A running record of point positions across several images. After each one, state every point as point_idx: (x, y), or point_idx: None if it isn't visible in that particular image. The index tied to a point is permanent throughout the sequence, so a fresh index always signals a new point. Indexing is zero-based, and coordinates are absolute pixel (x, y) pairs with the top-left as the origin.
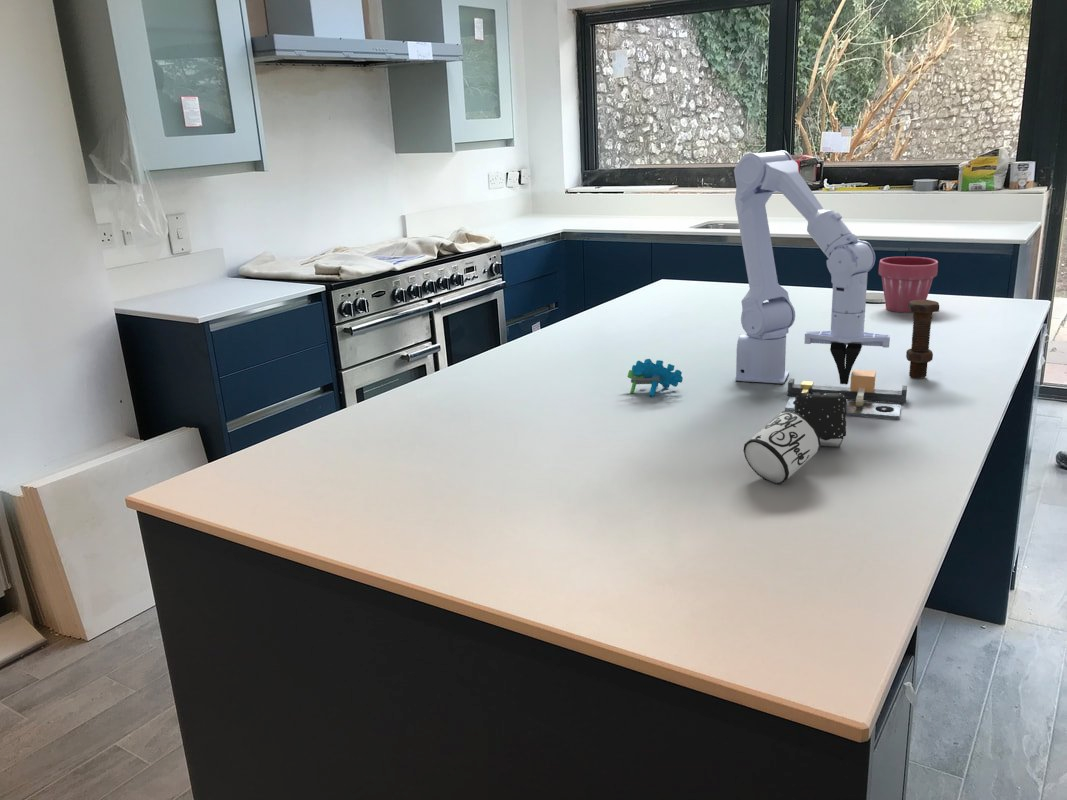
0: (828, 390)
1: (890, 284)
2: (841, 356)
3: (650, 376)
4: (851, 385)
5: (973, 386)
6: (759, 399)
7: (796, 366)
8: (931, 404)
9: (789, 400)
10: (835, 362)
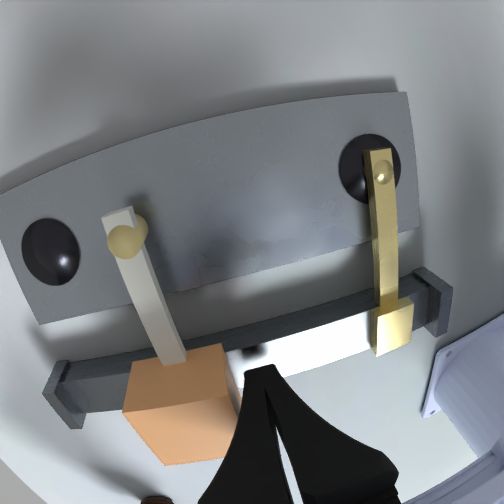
0: (309, 327)
1: None
2: (308, 461)
3: None
4: (218, 360)
5: (52, 480)
6: (479, 191)
7: (403, 451)
8: (17, 378)
9: (414, 186)
10: (330, 424)
